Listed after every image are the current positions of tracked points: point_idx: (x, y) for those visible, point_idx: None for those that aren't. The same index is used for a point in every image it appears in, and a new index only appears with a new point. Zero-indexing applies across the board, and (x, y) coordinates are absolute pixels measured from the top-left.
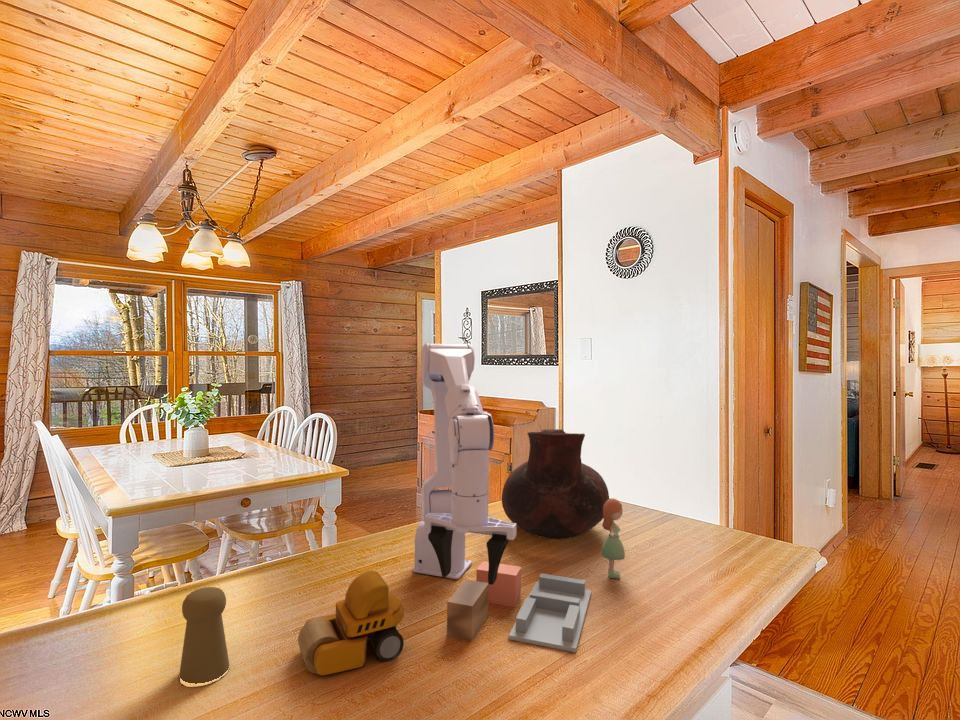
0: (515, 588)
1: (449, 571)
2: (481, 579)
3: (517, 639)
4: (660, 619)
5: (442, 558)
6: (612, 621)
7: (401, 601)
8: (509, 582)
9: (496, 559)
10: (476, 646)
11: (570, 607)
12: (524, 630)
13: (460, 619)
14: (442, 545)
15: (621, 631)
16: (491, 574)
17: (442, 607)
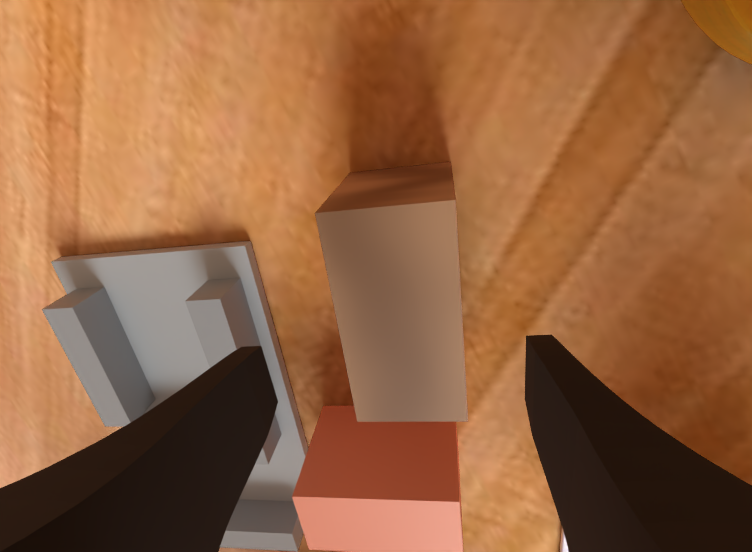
0: (307, 454)
1: (527, 392)
2: (436, 466)
3: (220, 244)
4: (8, 457)
5: (581, 407)
6: (80, 420)
7: (748, 21)
8: (324, 469)
9: (86, 451)
10: (321, 153)
11: (120, 413)
12: (209, 283)
13: (386, 186)
14: (627, 512)
15: (39, 388)
16: (207, 377)
17: (551, 330)
